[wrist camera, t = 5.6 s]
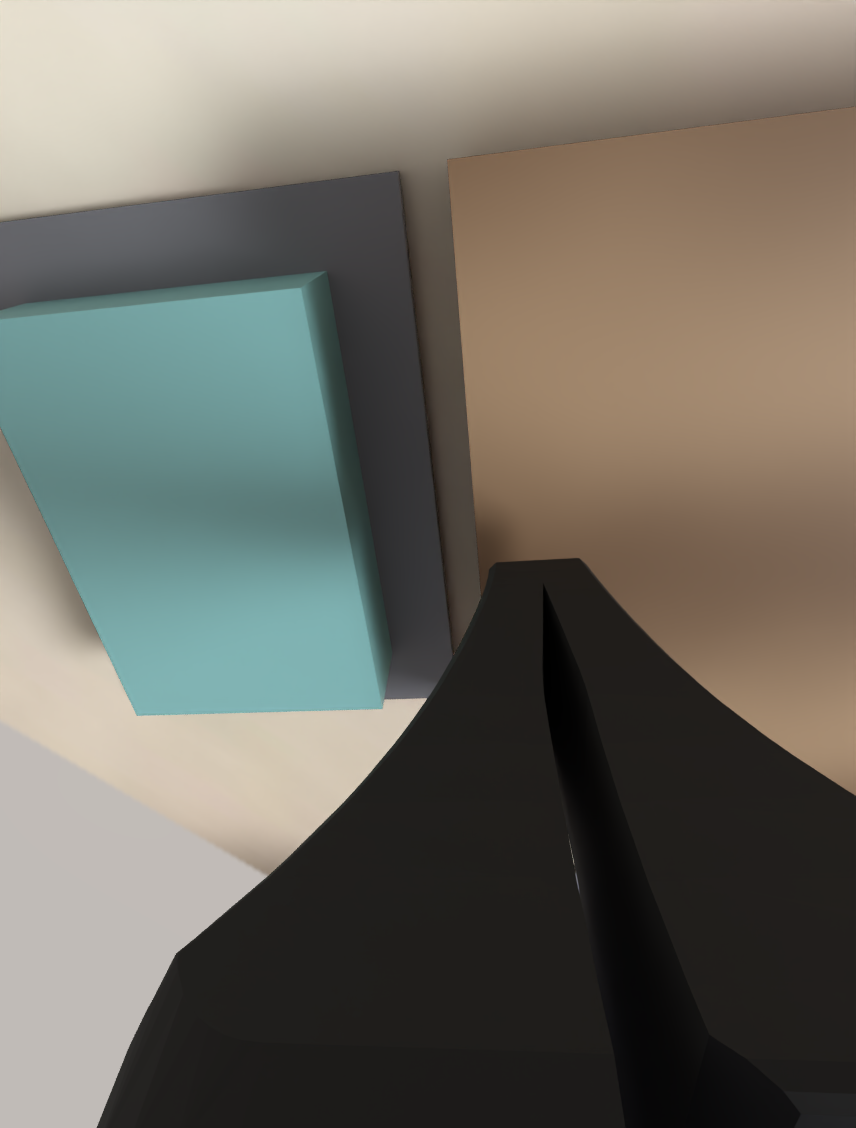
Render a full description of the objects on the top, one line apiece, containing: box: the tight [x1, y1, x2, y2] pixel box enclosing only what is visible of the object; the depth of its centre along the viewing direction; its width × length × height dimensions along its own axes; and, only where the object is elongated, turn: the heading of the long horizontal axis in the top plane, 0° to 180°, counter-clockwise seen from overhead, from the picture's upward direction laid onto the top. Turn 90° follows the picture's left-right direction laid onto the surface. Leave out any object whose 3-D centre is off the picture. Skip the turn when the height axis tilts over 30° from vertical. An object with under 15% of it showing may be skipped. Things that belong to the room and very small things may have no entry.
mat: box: [0, 171, 453, 699], centre depth 14 cm, size 12×9×1 cm
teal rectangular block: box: [0, 271, 392, 716], centre depth 13 cm, size 9×6×2 cm, turn 6°
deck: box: [447, 107, 856, 796], centre depth 12 cm, size 12×12×4 cm
